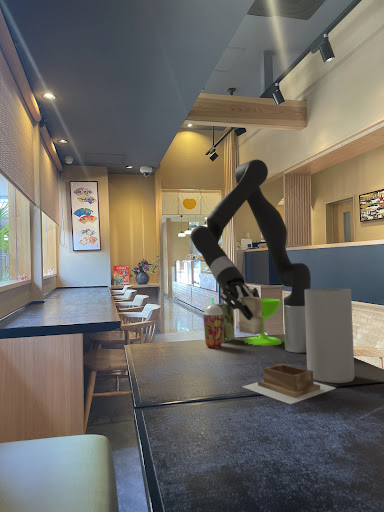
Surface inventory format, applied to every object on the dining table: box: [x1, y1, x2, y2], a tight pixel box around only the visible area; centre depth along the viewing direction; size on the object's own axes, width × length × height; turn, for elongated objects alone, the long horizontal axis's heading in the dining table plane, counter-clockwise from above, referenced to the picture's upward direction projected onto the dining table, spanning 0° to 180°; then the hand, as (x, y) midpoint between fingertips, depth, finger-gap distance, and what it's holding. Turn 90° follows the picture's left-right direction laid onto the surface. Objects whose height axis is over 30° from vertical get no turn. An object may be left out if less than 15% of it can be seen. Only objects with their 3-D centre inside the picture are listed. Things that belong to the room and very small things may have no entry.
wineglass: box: [243, 298, 282, 347], centre depth 155 cm, size 16×16×18 cm
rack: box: [257, 363, 320, 398], centre depth 94 cm, size 10×12×4 cm
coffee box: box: [215, 302, 235, 343], centre depth 161 cm, size 9×6×16 cm
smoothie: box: [202, 297, 223, 348], centre depth 147 cm, size 8×8×20 cm
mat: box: [241, 381, 336, 405], centre depth 94 cm, size 18×16×1 cm
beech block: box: [238, 296, 263, 335], centre depth 103 cm, size 3×6×10 cm, turn 35°
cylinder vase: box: [305, 287, 355, 384], centre depth 103 cm, size 12×12×25 cm
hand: (255, 317), depth 101 cm, fingers closed on beech block, 3 cm apart
